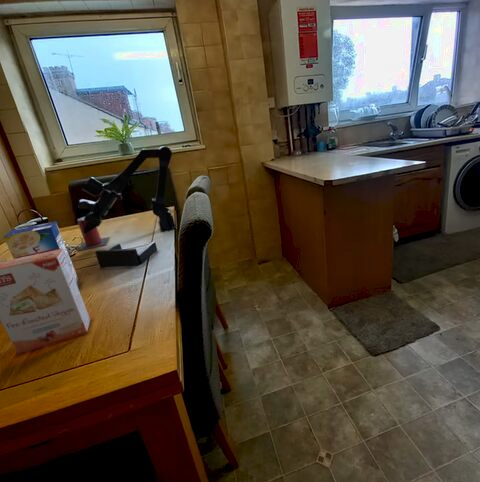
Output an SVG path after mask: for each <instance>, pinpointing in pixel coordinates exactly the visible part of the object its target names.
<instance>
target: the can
mask: <svg viewBox="0 0 480 482" xmlns="http://www.w3.org/2000/svg"><path fill="white" fill-rule="evenodd" d="M84 218H85V216H82V217H80V218H77V220H76V222H77V224H78V228H79V230H80V233H81V235H82V239H83V240H84V241H83V242H85V244H86V246H94V245H97V244H100V243H101V242H102V240H101V239H102V238H101V235H100V232H99V229H98V226H97V227H96V228H94V229H92V230H91V231H89V232H88V233H86V234H85V233H83V232H84V229H85V226H86V223H87V222H86V220H84Z"/></svg>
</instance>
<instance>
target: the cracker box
mask: <svg viewBox="0 0 480 482" xmlns="http://www.w3.org/2000/svg"><path fill="white" fill-rule="evenodd" d="M80 292H81V291H80V289H79V285H78V286H77V284H76V281H75V279H74V276H73V274H72V271H71V269H70V266H69V264H68V261H67V259H66V256H65V254H64V251H63V249H59V250H54V251H49V252H45V253H40V254H35V255H31V256H26V257H21V258H16V259H14V258H11V259H8V260H3V261H0V322H1V324H2V326H3V328H4V330H5V332H6V334H7V335H8V337H9V339H10V341H11V343H12V345H13V347H14V348H15V351H16V352H17V354H18V355H21V354H24V353H27V352H30V351H34V350H37V349H40V348H43V347H46V346H50V345H53V344H55V343H59V342H63V341H65V340H69V339H71V338H75V337H78V336H82V335H85V334H87V333H88V331H89V327H90V323H91V318H90V315H89V312H88V309H87V307H86V304H85V302H84V300H83V297H82V295H81V293H80Z"/></svg>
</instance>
